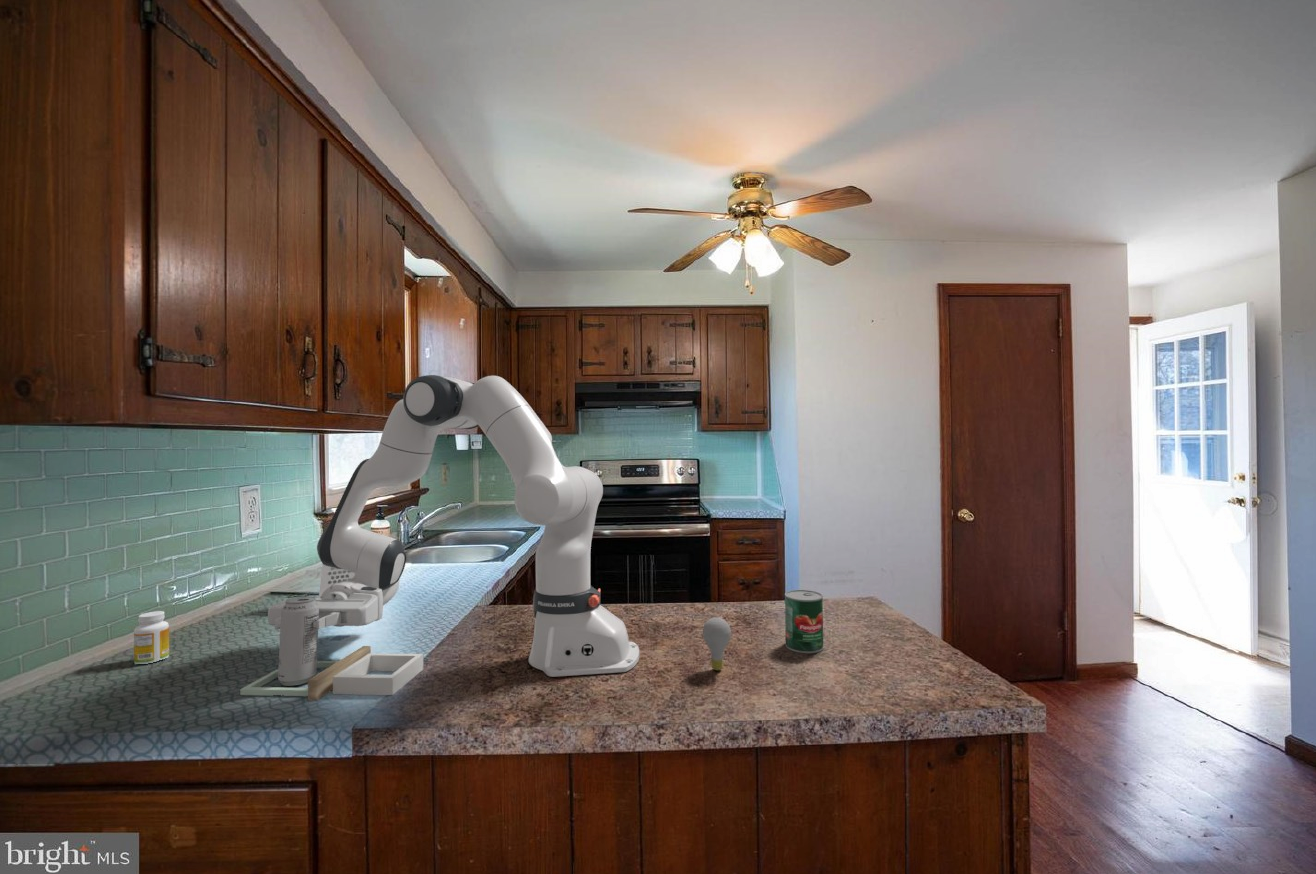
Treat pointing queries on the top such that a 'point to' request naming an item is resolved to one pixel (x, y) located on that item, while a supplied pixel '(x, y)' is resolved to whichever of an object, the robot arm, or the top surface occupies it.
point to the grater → (333, 577)
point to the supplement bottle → (151, 638)
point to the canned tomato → (804, 621)
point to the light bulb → (716, 639)
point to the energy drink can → (298, 641)
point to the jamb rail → (333, 674)
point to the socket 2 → (360, 683)
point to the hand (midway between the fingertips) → (296, 624)
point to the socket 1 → (270, 691)
